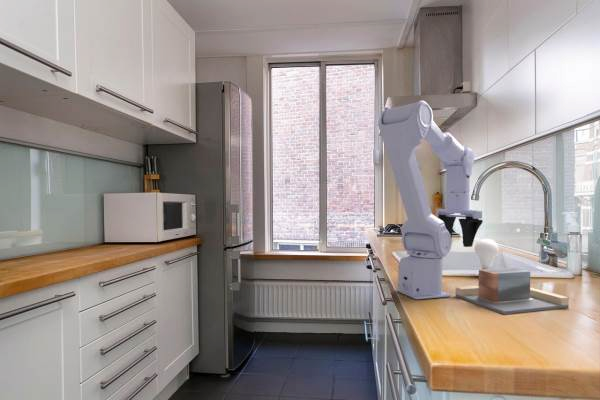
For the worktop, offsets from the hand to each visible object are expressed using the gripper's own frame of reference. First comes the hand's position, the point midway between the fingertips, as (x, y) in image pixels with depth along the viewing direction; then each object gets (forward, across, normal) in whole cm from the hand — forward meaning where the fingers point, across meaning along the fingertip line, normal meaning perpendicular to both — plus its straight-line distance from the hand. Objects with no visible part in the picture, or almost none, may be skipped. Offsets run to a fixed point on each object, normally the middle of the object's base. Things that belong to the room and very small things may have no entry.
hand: (456, 244), depth 91 cm
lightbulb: (+11, +6, -16) cm, 20 cm away
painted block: (+10, -16, +1) cm, 18 cm away
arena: (+10, -16, 0) cm, 19 cm away
